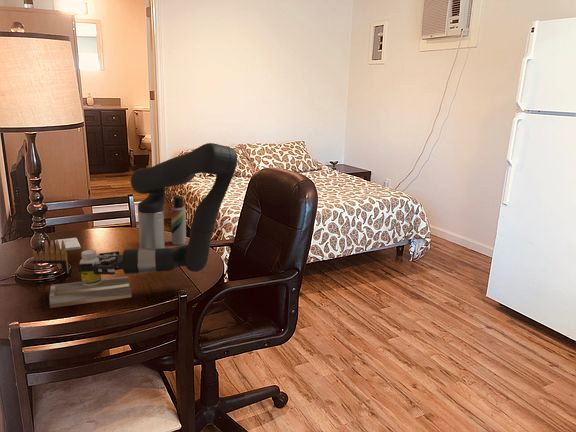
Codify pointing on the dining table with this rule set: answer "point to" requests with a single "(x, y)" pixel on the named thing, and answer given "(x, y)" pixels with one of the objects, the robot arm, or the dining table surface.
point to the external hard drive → (70, 243)
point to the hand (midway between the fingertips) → (80, 264)
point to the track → (89, 292)
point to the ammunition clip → (53, 255)
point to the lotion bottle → (178, 221)
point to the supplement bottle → (89, 276)
